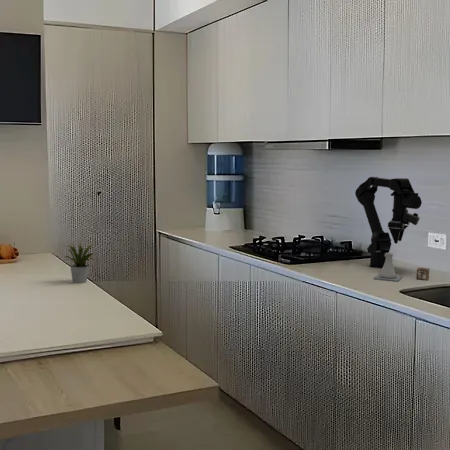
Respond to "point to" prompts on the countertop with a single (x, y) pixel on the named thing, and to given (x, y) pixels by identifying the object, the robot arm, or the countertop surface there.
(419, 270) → the letter cube
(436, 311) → the countertop surface
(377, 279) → the grey coaster
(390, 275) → the flask
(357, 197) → the robot arm
